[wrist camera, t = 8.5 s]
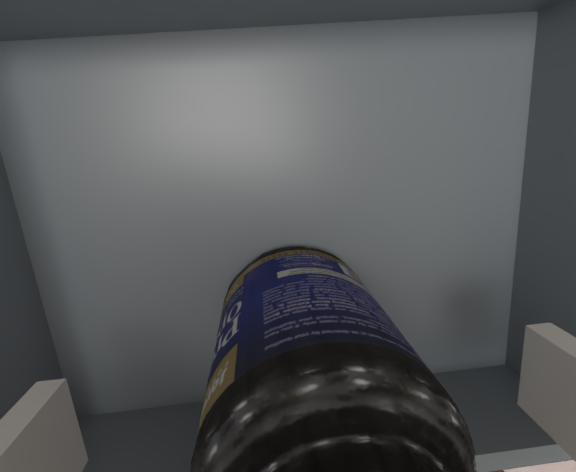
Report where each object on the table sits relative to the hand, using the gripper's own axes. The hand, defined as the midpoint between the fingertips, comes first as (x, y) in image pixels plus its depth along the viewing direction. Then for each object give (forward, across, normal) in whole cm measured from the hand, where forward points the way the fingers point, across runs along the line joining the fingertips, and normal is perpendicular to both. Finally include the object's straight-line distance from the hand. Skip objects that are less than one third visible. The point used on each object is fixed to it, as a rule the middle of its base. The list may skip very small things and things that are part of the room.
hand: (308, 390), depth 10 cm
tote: (+6, 0, +4) cm, 7 cm away
